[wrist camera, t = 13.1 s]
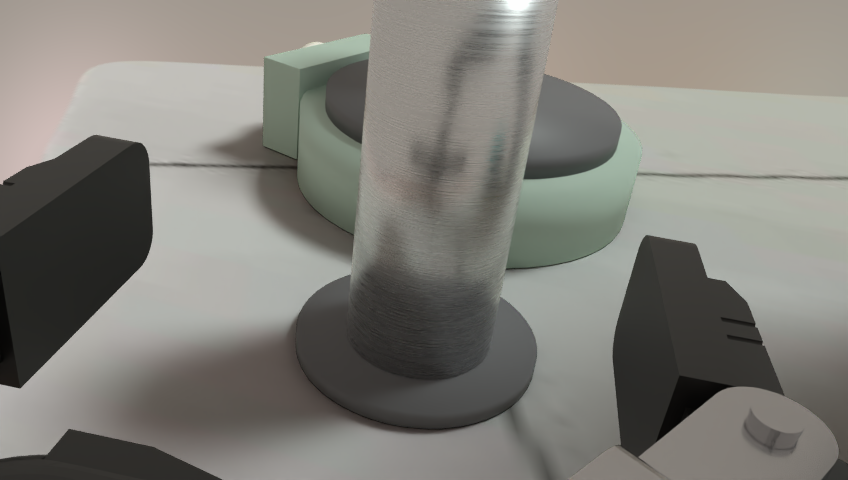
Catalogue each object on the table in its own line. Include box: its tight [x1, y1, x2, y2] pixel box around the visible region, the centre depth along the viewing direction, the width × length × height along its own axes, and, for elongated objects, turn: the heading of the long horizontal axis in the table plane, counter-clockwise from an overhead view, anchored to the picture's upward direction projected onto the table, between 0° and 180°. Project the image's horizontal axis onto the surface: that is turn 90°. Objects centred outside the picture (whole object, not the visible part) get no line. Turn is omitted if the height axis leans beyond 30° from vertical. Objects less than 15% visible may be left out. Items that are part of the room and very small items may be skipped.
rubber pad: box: [296, 275, 537, 429], centre depth 22 cm, size 7×7×1 cm
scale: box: [263, 34, 642, 268], centre depth 32 cm, size 16×14×4 cm
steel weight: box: [347, 0, 558, 380], centre depth 20 cm, size 4×4×10 cm
